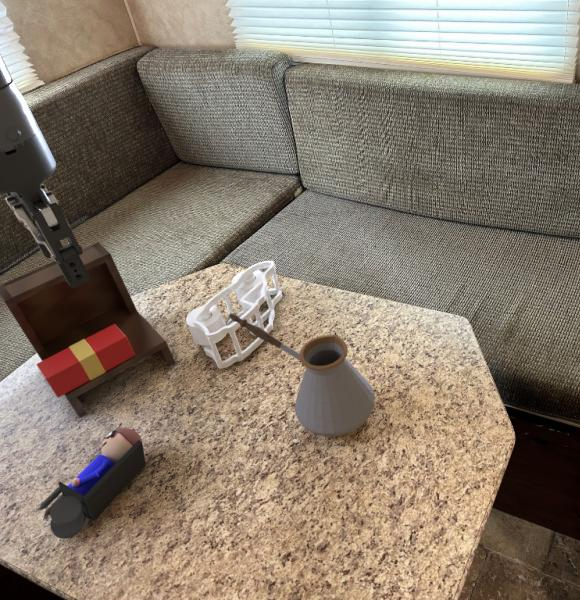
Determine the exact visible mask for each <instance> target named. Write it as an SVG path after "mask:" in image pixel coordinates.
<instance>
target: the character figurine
mask: <svg viewBox="0 0 580 600" xmlns="http://www.w3.org/2000/svg"><path fill="white" fill-rule="evenodd" d="M146 466H147V463H146V456H145V451H144V444H143V439H142V437H141V435H140V434H139V433H138V431H136V430H134V429H132V428H129V427H119V428H116V429H114V430H112V431H110V432H109V433H107V434H106V436H105V438H104V439H103V441H102V443H101V454H98V455H97V456H96V457H95V458H94V459H93V460H91V462H89V464H88V465H87V466H86V467H85V468H84V469H83V470H81V472H80V473H79V474H78V475H77V476H76V477H74V478H73V479H72V480H71V482H70V483H68V485H67V484H65V483H63V481H59V482H58V487H56V488H55V490H54V491H52V493H50V494H49V495H48V496H47V497H46V499H44V500H43V502H41V504H40V506H39V511H41V510H44V514H43V518H46V517H48V516H50V518H51V520H50V525H49V526H50V530H51V532H52V534H53V535H54V536H55V537H56V538H59V539H61V540H66V539H71V538H73V537H75V536H77V535H79V534H80V533H81V532H82V531H83V529H84V528H85V525H86V519H88V520H89V521H90V520H91V521H92V522H95V521H96V520H97V519H98V518H99V517H101V515H102V514H103V513H104V512H105V511H106V510H107V508H108V507H109V506H110V505H111V504H112V503H113V502H114V501H115V500H116V499H117V498H118V497H119V496H120V495H121V493H122V492H123V491H124V490H125V489H126V488H127V487H128V486H129V485H130V484H131V482H132V481H133V480H134V479H135V478H136V477H137V476H138V475H139V474H140V473H141V472H142V470H144V469H145V467H146ZM60 494H61V495H60ZM56 498H57V499H56ZM49 505H50V506H49ZM45 509H46V510H45Z"/></svg>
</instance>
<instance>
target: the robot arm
mask: <svg viewBox="0 0 580 600" xmlns="http://www.w3.org/2000/svg"><path fill="white" fill-rule="evenodd" d="M56 169H57V163H56V160H55V158H54V155H53V154H52V151H51V150H50V147H49V145H48V143H47V141H46V139H45V136H44V135H43V133H42V130H41V129H40V127H39V125H38V123H37V120H36V118H35V116H34V114H33V113H32V110H31V108H30V106H29V104H28V101H27V100H26V99H25V97H24V95H23V94H22V92H21V91H20V89H19V88H18V86H17V84H16V83H15V81H14V79H13V77H12V74H11V73H10V71H9V68H8V67H7V64H6V63H5V60H4V58H3V56H2V55H1V53H0V195H5V194H6V197H4V200H5V202H6V204H7V205H8V206H9V208H10V210H11V211H12V212H13V214H14V215H15V217H16V218H17V220H18V221H19V223H20V224H23V226H24V228H25V229H27V230H28V231H29V232H30V233H31V235H32V237H33V239H34V241H35V242H36V244H37V246H38V248H39V250H40V251H41V253H42V255H43V256H44V258H47V259H52V261H56V262H57V264H58V266H59V268H60V270H61V272H62V273H63V275H64V277H65V279H66V281H67V283H68V284H69V285H70V287H72V288H76V287H78V286H80V285H83V284H85V283H87V282H89V280H90V276H89V274H88V272H87V270H86V268H85V266H84V264H83V262H82V260H81V258H80V256H79V255H81V254H83V252H82V249H83V248H82V246H81V245H80V244H79V242H78V240H77V238H76V236H75V234H74V232H73V231H72V229H71V225H70V224H69V222H68V220H67V219H66V217H65V215H64V213H63V211H62V207H61V204H59V201H58V199H57V198H56V196H55V194H54V193H53V191H51V190H48V189H47V187H46V185H45V184H44V183H43V182H44V181H46V180H47V179H48V178H50V177H51V176H52V175H53V174H54V173H55V171H56ZM62 240H65V241H66V243H67V244H65V245H63V244H62V242H61V241H62Z"/></svg>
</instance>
